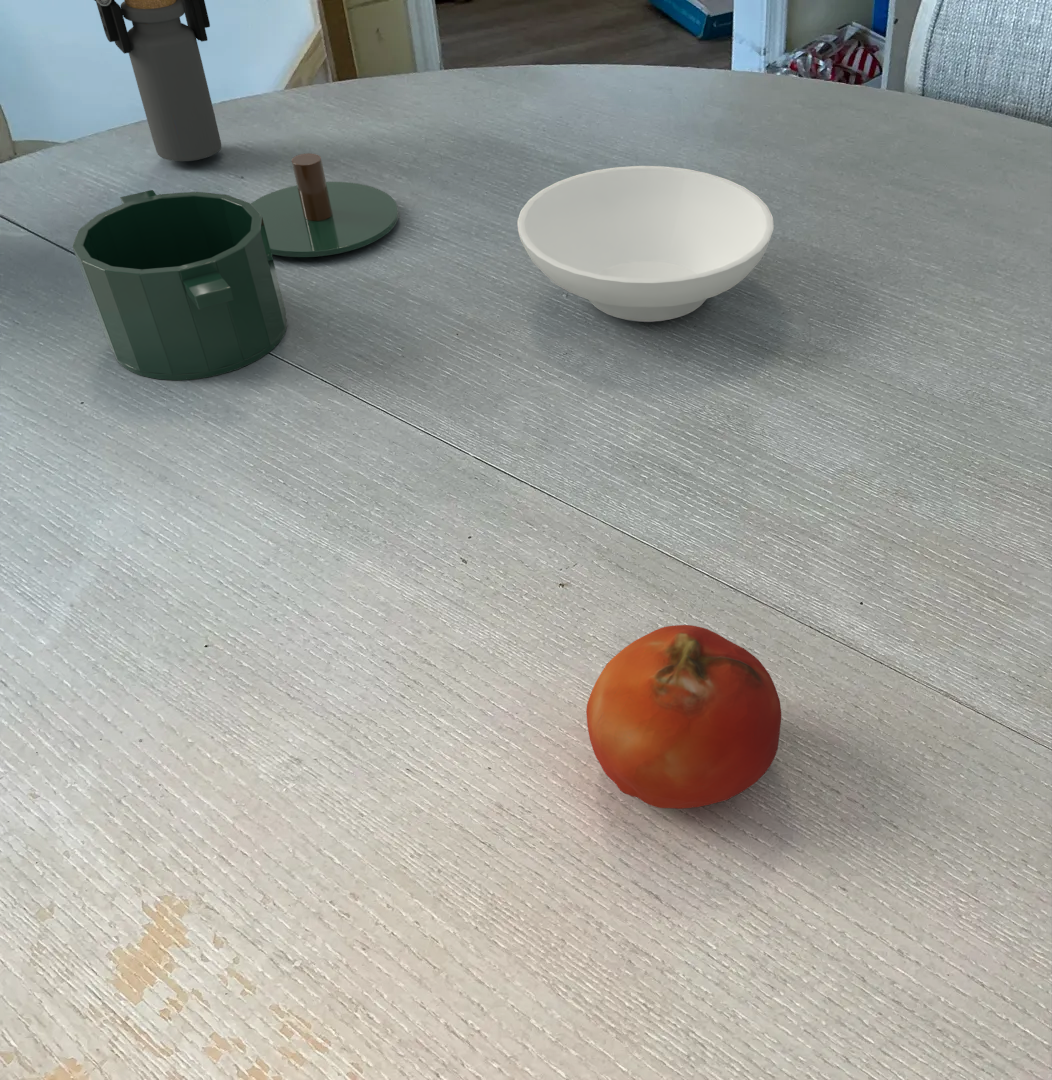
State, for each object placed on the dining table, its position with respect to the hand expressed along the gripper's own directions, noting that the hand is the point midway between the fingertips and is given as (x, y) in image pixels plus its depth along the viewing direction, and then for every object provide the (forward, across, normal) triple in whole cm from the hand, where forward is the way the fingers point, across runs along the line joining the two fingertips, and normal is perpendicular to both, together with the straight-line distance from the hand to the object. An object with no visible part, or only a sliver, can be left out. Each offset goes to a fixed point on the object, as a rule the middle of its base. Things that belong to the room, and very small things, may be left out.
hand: (161, 40), depth 105 cm
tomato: (+11, +2, +86) cm, 87 cm away
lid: (+10, -5, +20) cm, 23 cm away
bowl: (+11, -22, +46) cm, 52 cm away
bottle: (+10, 0, 0) cm, 10 cm away
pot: (+11, +9, +32) cm, 35 cm away
